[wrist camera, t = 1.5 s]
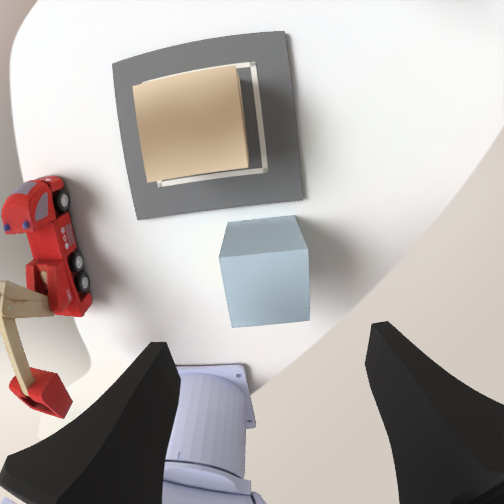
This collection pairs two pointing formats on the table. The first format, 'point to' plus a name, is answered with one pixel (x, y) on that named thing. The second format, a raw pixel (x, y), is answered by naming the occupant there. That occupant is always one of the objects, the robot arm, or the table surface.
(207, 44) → the grey square pad
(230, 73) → the beech block
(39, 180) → the toy fire truck
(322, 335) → the table surface
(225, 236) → the bluegrey block
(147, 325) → the table surface
